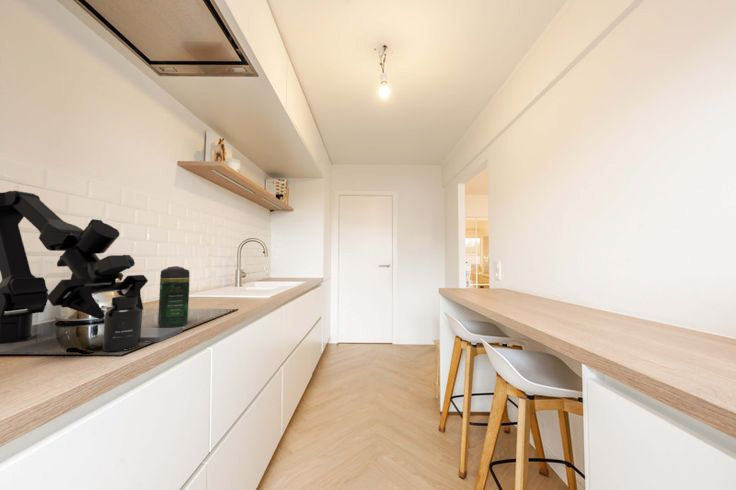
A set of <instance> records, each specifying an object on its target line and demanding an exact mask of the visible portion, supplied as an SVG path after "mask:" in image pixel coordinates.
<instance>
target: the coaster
mask: <svg viewBox="0 0 736 490" xmlns="http://www.w3.org/2000/svg"><path fill="white" fill-rule="evenodd" d="M183 332H184V331H183V327H145V328H141V339H140V343H146V342H145V341H154V342H153V343H161V342H163V341H165V340H167V339H169V338H172V337H174V336H176V335H179V334H181V333H183Z"/></svg>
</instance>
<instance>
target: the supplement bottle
mask: <svg viewBox="0 0 736 490" xmlns="http://www.w3.org/2000/svg"><path fill="white" fill-rule="evenodd" d="M111 298H112V299H111V303H110V305H111V307H112V308H109V309H108V310H107V311H106V312H105V313H104V315H105V316H104V323H103V324H104V325H103V326H104V327H103V337H102V342H103V343H102V350H103V351H105V352H108V351H116V352H120V351H119V350H124V349H129V348H133V347H136V346H138V345H139V346H140V344H141V342H140V339H141V330H142V322H143V321H142V320H143V310H141V309H140V308H139V307H137V306H136V305H137V304H138V296H121V295H119V296H114V297H111ZM139 346H138V347H139ZM136 348H137V347H136ZM133 349H134V348H133ZM129 350H130V349H129Z"/></svg>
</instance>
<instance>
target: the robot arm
mask: <svg viewBox="0 0 736 490" xmlns="http://www.w3.org/2000/svg"><path fill="white" fill-rule="evenodd" d="M24 218H25V219H26V220H27V221H28V222H29V223H31V224H32V226H34V227H35V228H36V230H37V231H38V232H39V236H38V239H39V241H40V242H41V244H42V245H43V247H44V248H45V249H46V250H47V251H51V252H55V251H57V252H63V254H62V255H60V256H59V259H58V260H57V262H56V267H58V268H60V267H62V268H63V267H68V269H69V270H70V271H71V273H72V275H73V276H72V277H71V278H70V279H69V278H68V279H61V280H60V281H59V282H58V283H57V285H56V286H55V287H54V288H53V289H52V291H51V292H50V293H48V292H49V289H48V287H47V285H46V279H45V278H44V277H42V276H41V277H39V276H38V277H36V276H35V275H33V274H32V271H31V267H30V264H29V260H28V256H27V253H26V248H25V245H24V241H23V238H22V234H21V233H22V232H21V230H20V227H19V225H20V223H21V222H22V220H23V219H24ZM119 237H120V232H119V230H118V229H117V228H114V227H113V226H112V225H110V224H108V223H106V222H105V223H104V222H103V220H102V219H94V218H93V219H90V221H89V222H88V224H87V226H86V227H85V228H84V229H82V228H80V227H79V226H78V225H75V224H71V223H69V222H67V221H65V220H63V219H62V218H60V216H58V215H57V214H56V213H55V212H54V211H53V210H51V208H49V207H48V206H47V205H46V204H45V203H44V202H43V201H42V200H41V198H40V196H39V195H37V194H35V193H32V192H25V191H20V190H8V191H5V192H0V275H1V281H0V344H1V343H8V342H11V343H12V342H19V341H21V342H22V341H27V340H29V339H32V338H33V337H36V336H37V335H39V333H38V332H32V331H33V319H34V317H33V316H34V314H39V313H40V314H41V313H44V312H45V309H46V306H47V303H48V301H49V302H50V304H51V305H52V306H53V307H57V306H58V307H59V306H60V307H61V308H68V309H71V310H74V311H78V312H80V313H84V314H86V315H89V316H90V317H94V318H95V319H99V320H102V319H105V313H104V311H103V310H102V308H101V307H100V306H99V304H98V303H97V301H96V300H95V298H94V296H93V294H100V293H101V294H103V293H109V292H110V293H111V292H116V293H117V294H118V295H119V296H138V304H137V305H136V306H137V307H139V308H140V309H141V310H142V311H143V310H144V305H143V302H142V301H143V300H142V295H141V290H142V288H143V287H144V286H145V285H146V284H147V283H148V281H149V280H148V278H147V277H146V276H145V275H144V274H134V275H133V274H131V275H127V276H126V277H125V278H124V279H123V280H122V281H119V282H117V280H116V279H119V278H120V277H122V275H121V273H122V272H124V271H125V270H129V269H131V268H132V267H134V266H135V264H136V262H135V260H134V258H133V257H132V256H131V255H129V254H122V255H118V254H117V255H114V254H113V255H108V256H105V257H103V258H101V259H100V257H99V254H104V253H105V252H107V251H108V249H109V248H110V247H111V246H112V245H113V243H114V242H115V241H116V240H117V239H118V238H119ZM97 254H98V255H97Z"/></svg>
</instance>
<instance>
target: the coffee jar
mask: <svg viewBox="0 0 736 490" xmlns="http://www.w3.org/2000/svg"><path fill="white" fill-rule="evenodd" d="M158 296H159V297H158V299H159V300H158V315H157V318H158V319H157V322H158V323H157V324H158V326H159V328H178V327H179V326H184V325H186V324H187V323H188V321H189V319H188V318H189V303H190V302H189V301H190V270H189V269H186V268H184V267H183V266H177V265H176V266H175V265H174V266H168V267H167V268H164V269H162V270H161V271H160V278H159V294H158Z"/></svg>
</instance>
